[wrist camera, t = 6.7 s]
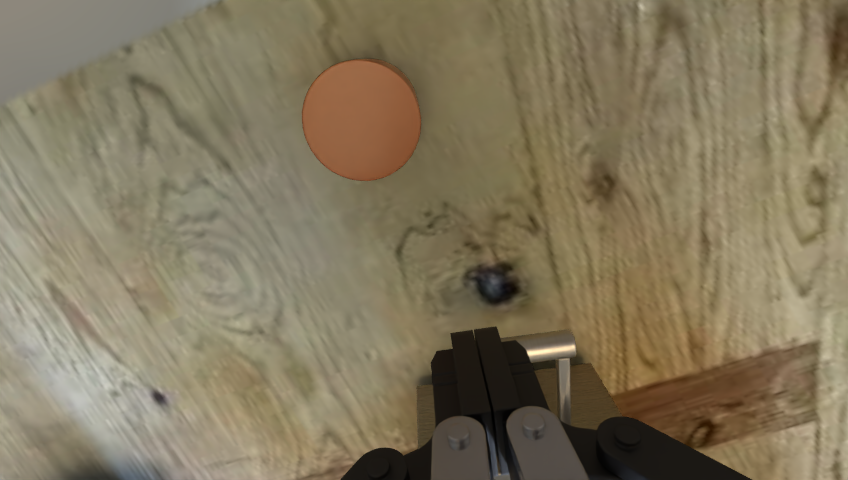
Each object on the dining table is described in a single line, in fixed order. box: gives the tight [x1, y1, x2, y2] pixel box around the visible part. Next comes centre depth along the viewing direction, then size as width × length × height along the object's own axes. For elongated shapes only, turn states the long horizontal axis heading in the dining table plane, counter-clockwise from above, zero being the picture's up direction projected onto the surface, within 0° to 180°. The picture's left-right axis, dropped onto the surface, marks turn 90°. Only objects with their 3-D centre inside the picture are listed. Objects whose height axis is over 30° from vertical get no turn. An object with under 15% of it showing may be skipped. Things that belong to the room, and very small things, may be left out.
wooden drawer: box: [417, 329, 623, 480], centre depth 27 cm, size 19×11×7 cm, turn 8°
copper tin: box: [302, 59, 421, 181], centre depth 21 cm, size 5×5×5 cm
